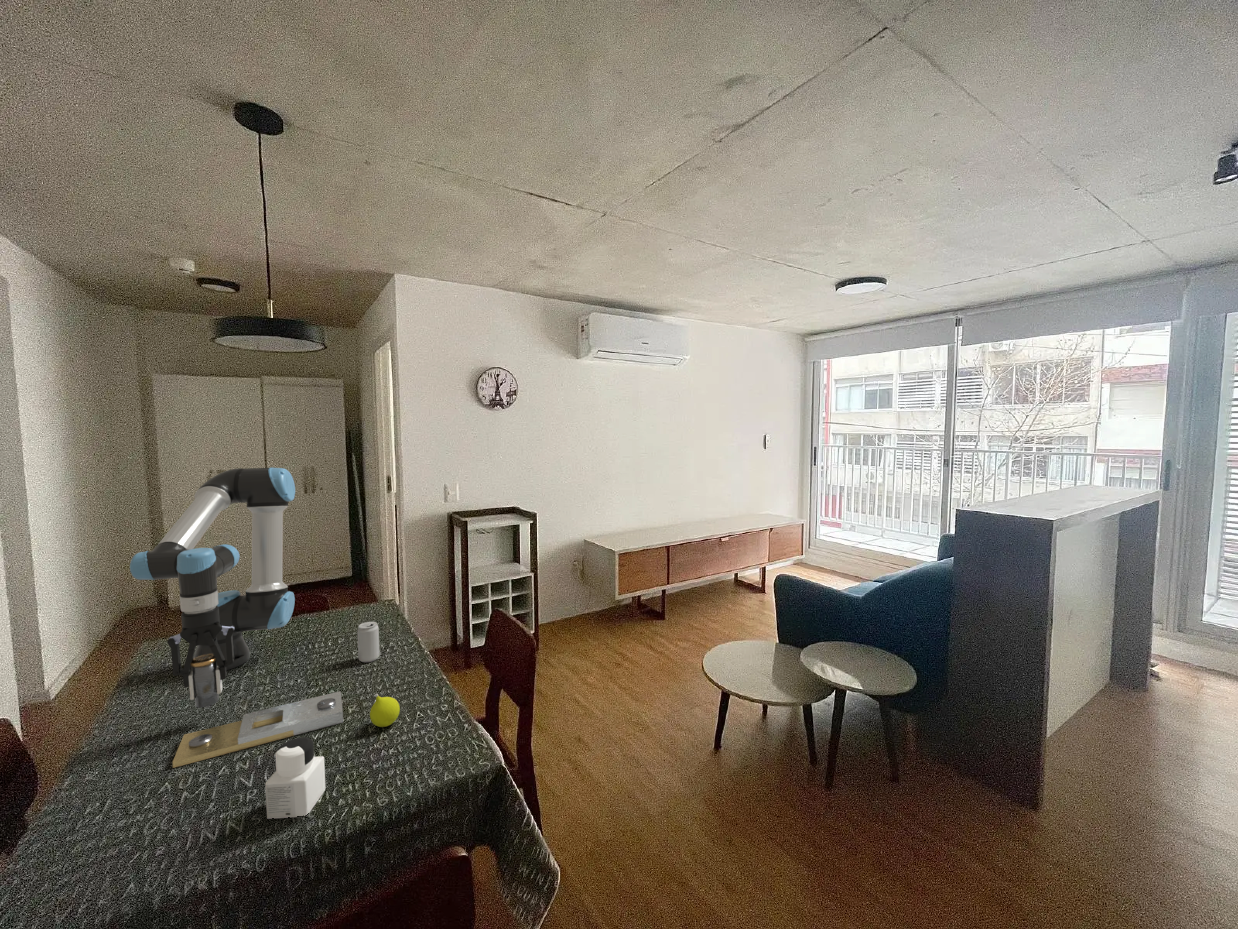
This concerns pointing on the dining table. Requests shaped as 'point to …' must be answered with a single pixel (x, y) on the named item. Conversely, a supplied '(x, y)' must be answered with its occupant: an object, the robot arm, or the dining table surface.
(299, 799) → the container
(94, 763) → the dining table surface
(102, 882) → the dining table surface
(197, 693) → the pin
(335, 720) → the link
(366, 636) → the beverage can
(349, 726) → the dining table surface
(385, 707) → the lemon
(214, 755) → the link
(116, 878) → the dining table surface
